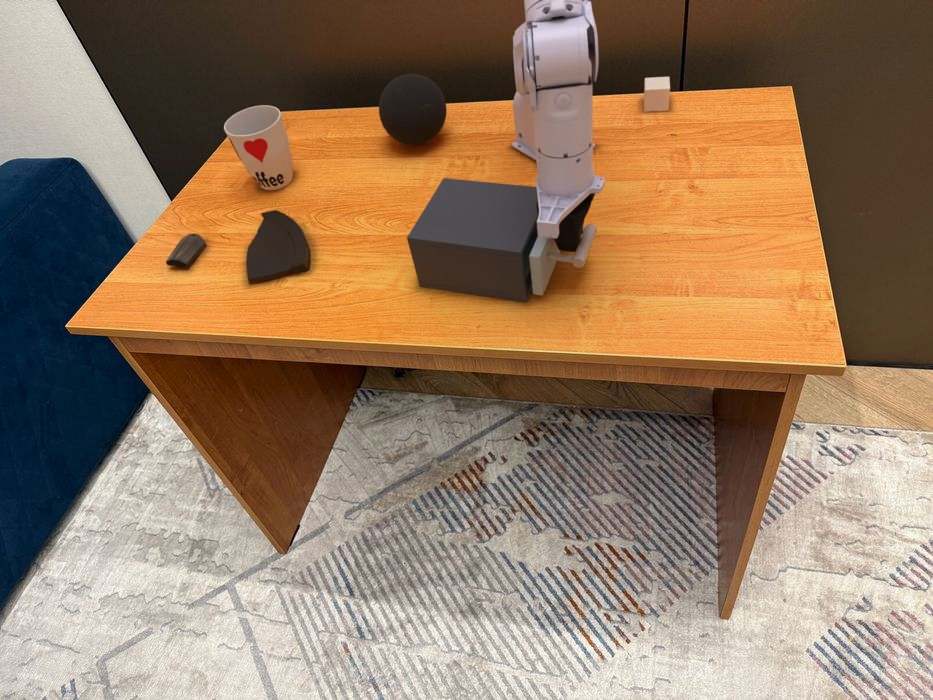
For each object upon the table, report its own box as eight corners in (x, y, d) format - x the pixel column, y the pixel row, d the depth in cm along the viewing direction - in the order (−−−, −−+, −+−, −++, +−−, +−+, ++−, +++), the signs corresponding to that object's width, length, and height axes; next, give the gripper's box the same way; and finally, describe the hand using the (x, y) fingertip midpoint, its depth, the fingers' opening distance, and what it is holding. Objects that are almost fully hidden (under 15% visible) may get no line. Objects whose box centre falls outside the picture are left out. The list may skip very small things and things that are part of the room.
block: (168, 270, 94) (162, 260, 92) (186, 241, 98) (181, 231, 96) (192, 270, 93) (186, 259, 92) (210, 241, 97) (204, 230, 95)
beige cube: (643, 111, 103) (645, 89, 100) (643, 99, 105) (644, 77, 103) (668, 110, 102) (670, 88, 100) (667, 98, 104) (669, 76, 102)
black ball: (402, 120, 111) (388, 60, 104) (460, 124, 108) (450, 62, 101) (376, 156, 105) (360, 94, 98) (437, 161, 102) (424, 97, 95)
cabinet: (553, 238, 87) (550, 187, 81) (526, 302, 80) (520, 252, 74) (453, 226, 91) (443, 177, 86) (419, 286, 84) (406, 237, 79)
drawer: (601, 241, 84) (601, 202, 79) (580, 301, 78) (578, 262, 73) (471, 226, 89) (465, 188, 85) (442, 280, 83) (433, 243, 79)
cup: (239, 193, 104) (212, 133, 96) (269, 162, 109) (245, 103, 101) (284, 199, 101) (260, 138, 94) (312, 167, 106) (291, 107, 98)
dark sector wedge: (310, 210, 98) (306, 201, 97) (310, 272, 89) (306, 263, 88) (252, 223, 98) (248, 213, 97) (247, 286, 89) (242, 276, 88)
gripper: (585, 188, 64) (587, 295, 73) (619, 106, 72) (617, 212, 82) (512, 182, 66) (524, 286, 76) (553, 102, 74) (559, 206, 84)
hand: (568, 247), depth 79 cm, fingers closed, pressing on drawer
